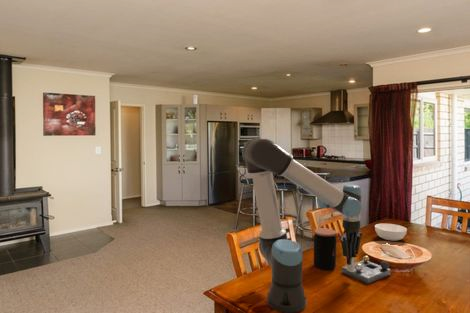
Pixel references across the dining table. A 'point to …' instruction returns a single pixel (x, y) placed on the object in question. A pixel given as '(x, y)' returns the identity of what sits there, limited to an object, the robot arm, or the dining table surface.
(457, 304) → the dining table surface
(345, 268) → the grey base plate
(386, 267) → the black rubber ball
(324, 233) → the coffee jar
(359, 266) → the steel ball
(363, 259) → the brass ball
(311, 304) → the dining table surface
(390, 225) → the bowl
